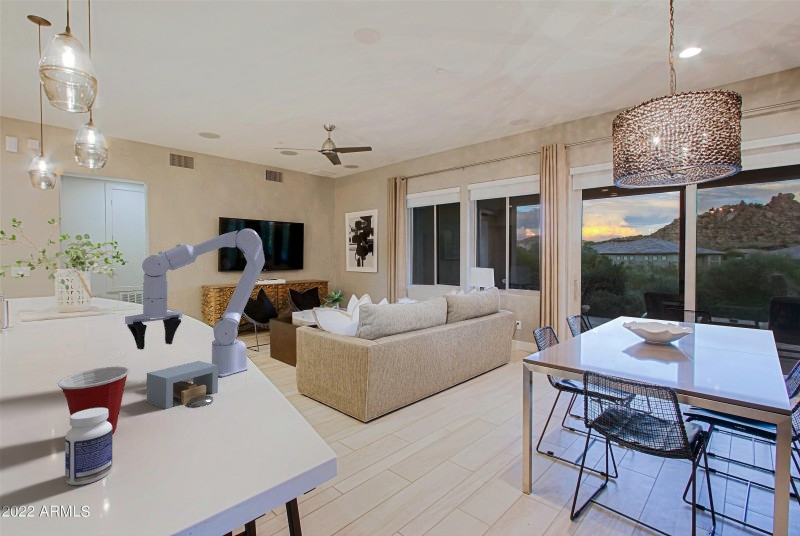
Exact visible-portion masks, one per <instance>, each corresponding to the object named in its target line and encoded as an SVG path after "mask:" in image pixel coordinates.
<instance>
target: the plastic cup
mask: <svg viewBox="0 0 800 536" xmlns="http://www.w3.org/2000/svg"><path fill="white" fill-rule="evenodd" d="M129 373H130V368H129V367H127V366H120V365H119V366H118V365H117V366H103V367H97V368H93V369H88V370H84V371H80V372H77V373H74V374H71V375H68V376H66V377H64V378H62V379H60V380H59V381H58V382H57V383H56V384H57V386H58V387H59V389H61V390H62V393H64V394H63V395H64V397H65V399H66V402H67V406H68V411H69V414H70V415H69V416H71V415H73V414H74V413H77V412H80V411H83V410H87V409H92V408H107V409H108V414H109V416H108V418H107V419H106V421H107V422H109V423H110V424H111V425H112V436H113V435H114V434H115V433H116V429H117V427H118V421H119V416H120V413H121V408H122V401H123V397H124V396H123V395H124V391H125V386H126V381H127V377H128V375H129Z"/></svg>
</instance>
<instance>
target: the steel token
mask: <svg viewBox="0 0 800 536" xmlns="http://www.w3.org/2000/svg"><path fill="white" fill-rule="evenodd" d="M212 402H214V397H213V396H212V395H206V396H198V397H194V398H192V399H190V400H189V403H188V404H189V407H191V406H193V407H192V408H200V406H202V407H206V405H207V406H209V405H211V404H213V403H212Z"/></svg>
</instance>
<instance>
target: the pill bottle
mask: <svg viewBox="0 0 800 536" xmlns="http://www.w3.org/2000/svg"><path fill="white" fill-rule="evenodd" d="M69 416H70V415H69ZM108 416H109V414H108V409H107V408H92V409H87V410H83V411H80V412H77V413H74V414H73V415H71V416H70V417H69V426H71V428H69V430H67V432H66V434H65V437H64V439H65V442H64V443H65V445H64V448H65V451H64V456H65V458H64V459H65V460H64V462H65V463H64V464H65V465H64V467H65V468H64V470H65V471H64V472H65V473H64V475H65V476H64V477H65V478H64V479H65V482H66V483H67V484H68V485H71V486H82V485H87V484H90V483H93V482H96V481H99V480H101V479H103V478H104V477H107V476H108V474H110V473H111V472H112V470H113V435H112V425H111V424H110V423H109V422H107V421H106V419H107V418H108Z"/></svg>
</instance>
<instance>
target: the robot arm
mask: <svg viewBox="0 0 800 536" xmlns="http://www.w3.org/2000/svg"><path fill="white" fill-rule="evenodd" d="M175 246H176V247H173V248H170V249H168V250H165V251H162V250H160V251H158V252H157V254H151V255H149V256H148V257H146V258H145V259H144V260H143V262H142V266H141V268H142V270H143V272H144V273H143V283H142V285H143V286H142V292H143V293H142V297H143V298H142V313H141V314H134V315H128V316H125V317H124V325H127V328H128V329H129V331H130V333H131V335H132V336H133V338H134V342H135V345H136V348H137V350H141V351H142V350H145V346H146V345H145V342H146V341H145V336H146V331H147V326H148V325H147V324H144V323H147V322H156V321H162V323H163V327H164V343H165V344H166V345H172V344H173V341H174V337H175V334H176V332H177V331H178V328H179V326H180V325H181V324H182V318H183V311H182V310H181V311H180V310H174V311H173V310H172V311H168V281H167V272H168V270H169V271H174V270H178V269H180V268H183V267H186V266H187V265H190V264H194V263H195V262H196V260H197V257H198V256H201V255H203V254H207V253H209V252H213V251H216V250H218V249H221V248H236V247H237V248H238V249H239V250H240V251H241V252H242V253H243V256H244V258H245V261H246V265H245V267H244V270H243V271H242V273H241V276H240V278H239V280H238V282H237V285H236V287H235V289H234V292H233V294H232V295H231V298H230V300H229V301H228V305H227V306H226V309H225V310H224V312H223V314H222V316H221V318H219V320H218V321H216V322H215V324H214V325H213V329H212V331H213V336H214V340H213V341H212V342H211V364H215V365H218V377H221V378H222V377H223V378H224V377H226V376H230V375H233V374H237V373H241V372H244V371H247V370H249V367H247V363H248V362H247V359H248V353H247V352H248V351H247V350H248V348H247V345H246V343H245V341H242V340H239V339H237V337H238V333H239V332H238V326H239V324H240V321H241V318H242V314H243V313H244V310H245V307H246V306H247V303H248V302H249V299H250V296H251V294H252V292H253V290H254V287H255V285H256V283H257V281H258V278H259V276H260V274H261V272H262V269H263V267H264V265H265V263H266V260H265V254H264V250H263V249H264V248H263V240H262V239H261V237H260V236H259V234H258V233H257V232H256V231H255V230H254V229H252V228H242V229H241V230H240V231H239V230H235V231H230V232H226V233H224V234H223V233H222V234H220V235H217V236H215V237H213V238H210V239H207V240H206V241H203V242H201V243H198V244H195V245H193V246H192V245H191V244H190V245H189V244H187V243H184V244H181V243H178V244H175Z"/></svg>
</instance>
